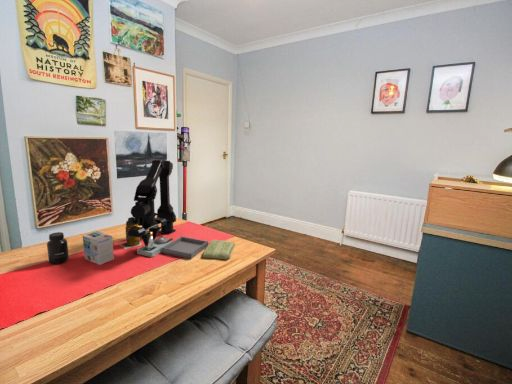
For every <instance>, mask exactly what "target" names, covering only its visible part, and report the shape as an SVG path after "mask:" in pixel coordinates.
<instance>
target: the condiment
mask: <svg viewBox="0 0 512 384" xmlns="http://www.w3.org/2000/svg"><path fill="white" fill-rule="evenodd" d="M135 226H136V227H140V226H138V224H137V225H134V226H132V225H129V223H128V220H126V221H125V237H126V238H125V240H126V242H122V243H121V242H120V243H119V245H120V246H121V247H122V248H123V249H124V250H126V249H131V248H133V247H138V246H144V243H142V242H141V237H134V236H129V235H128V230H129V229H130V228H133V227H135Z"/></svg>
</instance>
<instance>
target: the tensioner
mask: <svg viewBox="0 0 512 384" xmlns="http://www.w3.org/2000/svg"><path fill="white" fill-rule="evenodd" d="M172 241H174V239H173V237H170V238H168V237H164V236H162V235H161V236H159V237H156V238H155V240H154V243H153V246H154V249H153V250H151V251H146V246H145V245H142V246H141V247H139V248H137V249H136V253H137V255H142V256H146V257H150V258H153V257H156V256H157V255H158V254H160V253H162V248H163V247H164V246H166V245H168V244H170V243H171V242H172Z"/></svg>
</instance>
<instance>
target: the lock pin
mask: <svg viewBox="0 0 512 384" xmlns="http://www.w3.org/2000/svg"><path fill="white" fill-rule="evenodd" d="M148 232H149V233H150V238H149V243H148V246H146V251H151V250H153V249H154V246H153V231H149V230H148Z"/></svg>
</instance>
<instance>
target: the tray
mask: <svg viewBox="0 0 512 384" xmlns="http://www.w3.org/2000/svg"><path fill="white" fill-rule="evenodd" d="M208 244H209V241H208V240H205V239H204V240H203V239H197V238H193V237H188V236H182V235H181V236H180V237H178V238H176V239H175V240H172V241H171V243H170V244H168V245H166V246H164V247H163V248H162V252H161V254H165V255H171V256H175V257H180V258H184V259H189V260H192V259H193V258H194V257H196V256H197V255H198V254H200V253H201V252H202V251H203V250H205V249H206V247H207V246H208Z"/></svg>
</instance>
